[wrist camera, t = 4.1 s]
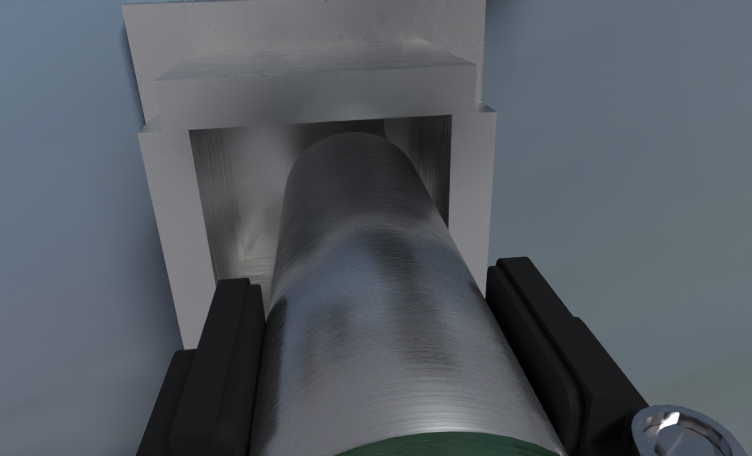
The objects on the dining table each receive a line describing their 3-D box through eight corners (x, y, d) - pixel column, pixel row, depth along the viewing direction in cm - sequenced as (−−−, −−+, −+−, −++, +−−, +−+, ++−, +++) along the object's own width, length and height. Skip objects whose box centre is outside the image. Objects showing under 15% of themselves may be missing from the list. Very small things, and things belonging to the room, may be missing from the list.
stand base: (477, -9, 19) (564, -4, 13) (464, 281, 24) (522, 386, 18) (129, 3, 18) (39, 15, 12) (191, 307, 23) (150, 429, 17)
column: (431, 117, 17) (897, 669, 3) (429, 261, 19) (707, 948, 5) (266, 126, 16) (48, 794, 3) (283, 272, 18) (200, 1043, 5)
